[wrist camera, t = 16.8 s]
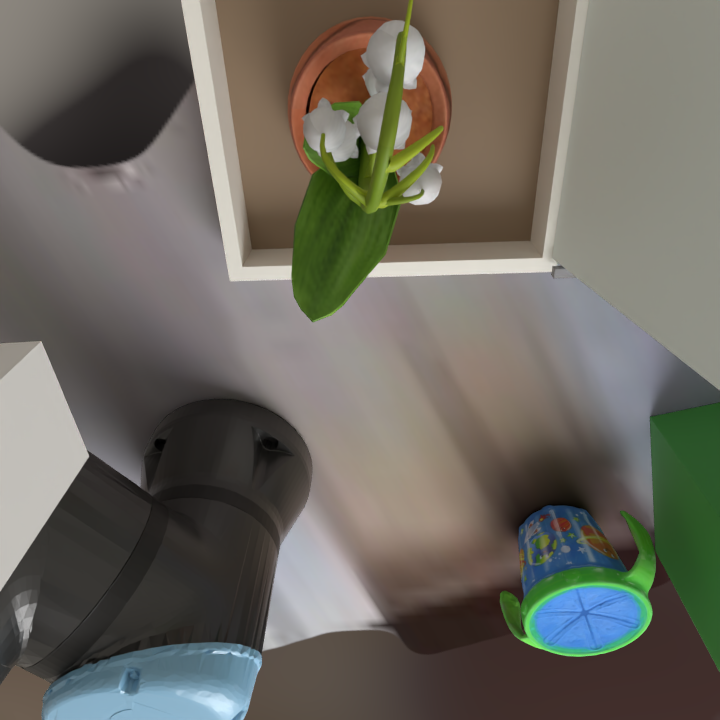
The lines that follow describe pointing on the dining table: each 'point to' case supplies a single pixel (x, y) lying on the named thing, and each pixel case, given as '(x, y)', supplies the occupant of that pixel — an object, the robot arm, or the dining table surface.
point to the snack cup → (578, 585)
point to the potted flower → (362, 149)
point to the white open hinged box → (503, 147)
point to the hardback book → (690, 511)
